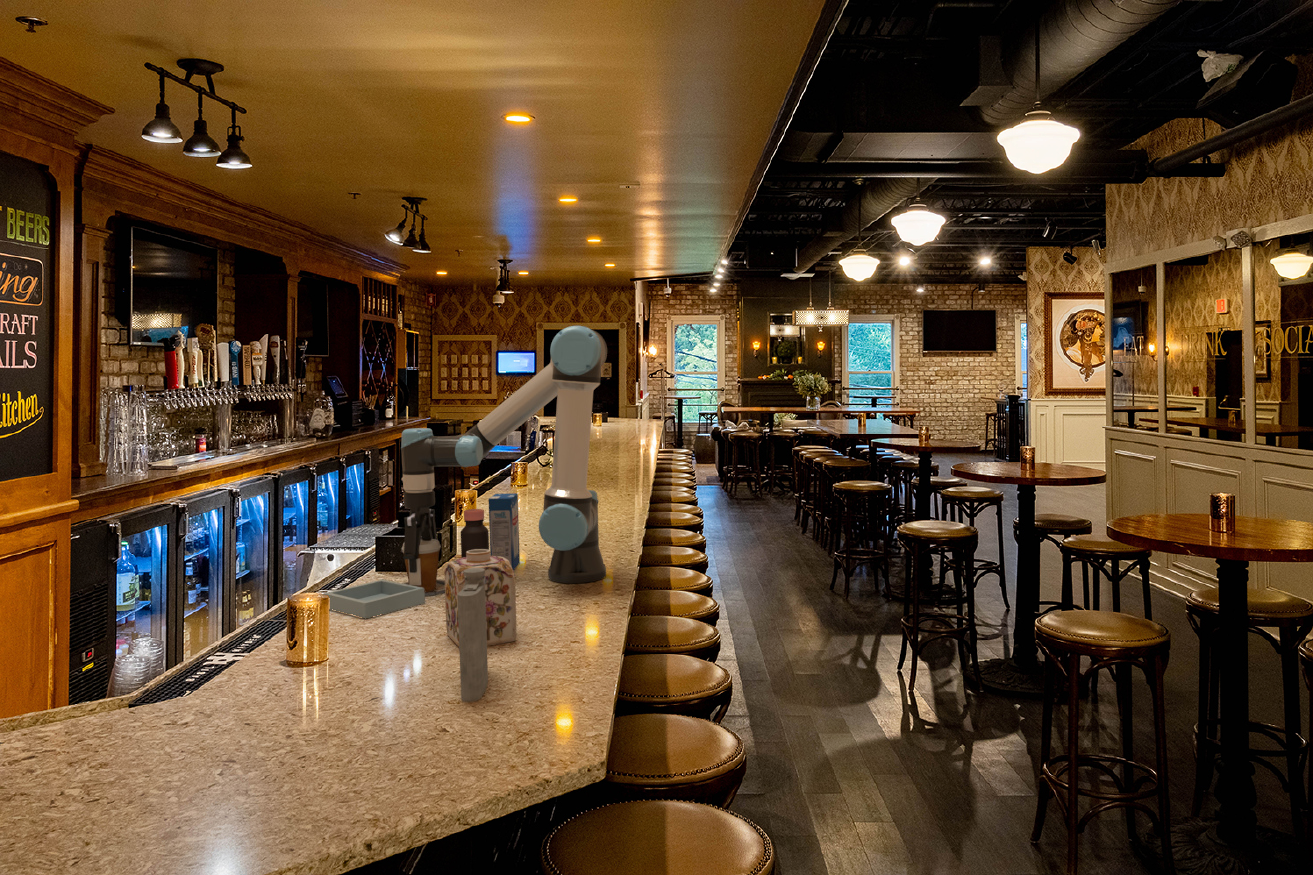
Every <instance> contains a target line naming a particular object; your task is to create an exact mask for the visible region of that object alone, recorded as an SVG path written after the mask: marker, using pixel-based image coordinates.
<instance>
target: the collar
mask: <svg viewBox="0 0 1313 875" xmlns="http://www.w3.org/2000/svg"><path fill="white" fill-rule="evenodd" d="M402 583H403V584H407V585H409V582H408V581H405V582H402ZM437 584H438V585H444V586H445V579H437V580H436V585H437ZM424 593H425V597H433V596H434V597H435V596H438V595H442V594H445V587H444V588H442V589H436V590H433V591H429V592H424Z"/></svg>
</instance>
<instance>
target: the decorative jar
mask: <svg viewBox="0 0 1313 875" xmlns="http://www.w3.org/2000/svg"><path fill="white" fill-rule="evenodd" d="M470 568H483V569H485V575H483V576H484V578H485V602H486V632H487V647H489V646H494V645H500V644H506V643H507V644H508V643H512V642H516V640H517V598H516V597H517V594H516V590H517V589H516V577H515V576H516V575H515V570H514V571H513V569H512V567H511V564H510V562H509V560H507V559H506V558H504V557H499V556H490V549H489V550H487V549H475V550H469V551H467V552H466V557H463V558H461V557H460V558H457V559H456V558H455V559H453V560H451V561H449V562H448V564H447V565H446V567H445V571H444V572H443V573H444V580H445V585H444V588H445V593H444V598H445V601H444V603H445V625H446V626H445V627H446V634H447V636H448V637H449V638H450V639H451V640H452V641H453V642H454V643H455V645H456V646H457V647H458V648H459V624H458V597H457V594H458V593H459V592H460V591H461V590H462V589H463V588H464V586H465V576H464V570H466V569H470Z"/></svg>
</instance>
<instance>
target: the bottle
mask: <svg viewBox="0 0 1313 875" xmlns="http://www.w3.org/2000/svg"><path fill="white" fill-rule="evenodd" d="M463 521H464V522H465V525H464V527H462V529H461V531H460V553H461V554H460V555H461V557H460V558H463V557H466V552H467V551H469V550H475V549H487V550H489V551H490V530H489V529H488V527H486V526H485V524H484V521H485V510H484V509H483V508H473V509H472V508H471V509H465V510H463Z"/></svg>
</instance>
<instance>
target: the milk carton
mask: <svg viewBox="0 0 1313 875" xmlns="http://www.w3.org/2000/svg"><path fill="white" fill-rule="evenodd" d="M487 499H488V525H489V529H488V530H489V551H490V556H499V557H504V558H506V559H507V560H509V562H510V564H511V567H512V569H513V571H514V572H515V570H516V568H517V567H518V566H519V565H520V563H521V561H520V560H521V558H520V556H521V554H520V552H521V551H520V533H519V532H520V528H519V495H518V493H514V492H513V493H495V494H493V495H492V496H490V497H489V498H487Z"/></svg>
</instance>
